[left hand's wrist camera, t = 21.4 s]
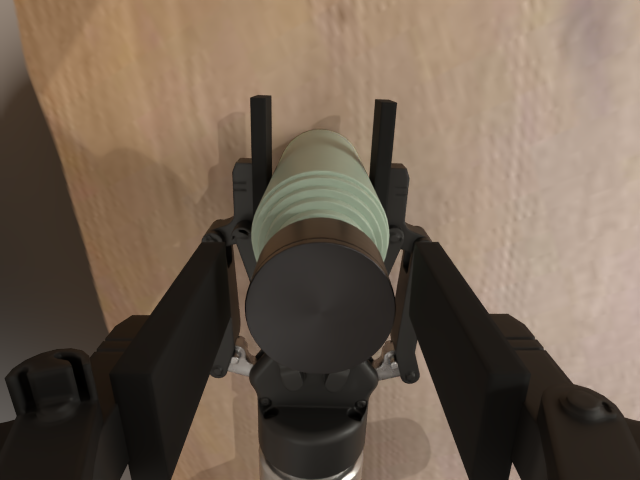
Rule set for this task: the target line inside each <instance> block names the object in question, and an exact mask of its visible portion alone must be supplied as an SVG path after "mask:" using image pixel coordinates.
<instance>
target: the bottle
mask: <svg viewBox="0 0 640 480" xmlns="http://www.w3.org/2000/svg"><path fill="white" fill-rule="evenodd" d="M318 217H324V218H333V219H337V220H341V221H344V222H347V223H349V224H351V225H353V226H355V227H357V228H358V229H360V230H361V231H363V232H364V233H365V234H366V235H367V236H368V237H369V238H370V239H371V240H372V241H373V242H374V244H375V245H376V247H377V248H378V250H379V252H380V254H381V256H382V259H383V262H384V260H385V257H386V253H387V249H388V244H389V226H388V221H387V217H386V214H385V211H384V209H383V207H382V205H381V203H380V200H379V198H378V196H377V194H376V192H375V190H374V188H373V186H372V184H371V181H370V179H369V177H368V175H367V173H366V171H365V169H364V167H363V164H362V162H361V160H360V158H359V156H358V154H357V152H356V150H355V148H354V147H353V145H352V144H351V143H350V142H349V141H348V140H347V139H346V138H345V137H343V136H342V135H340V134H338V133H336V132H333V131H330V130H324V129H317V130H311V131H307V132H304V133H302V134H300V135H299V136H297V137H296V138H294V139H293V140H292V141H291V142H290V143H289V145H288V146H287V147H286V149H285V151H284V152H283V154H282V157H281V159H280V161H279V163H278V165H277V167H276V169H275V172H274V174H273V176H272V178H271V180H270V182H269V184H268V187H267V189H266V191H265V193H264V195H263V197H262V199H261V202H260V204H259V206H258V208H257V210H256V213H255V215H254V219H253V223H252V231H251V238H252V246H253V251H254V255H255V258H256V261H258V258H259V255H260V253H261V251H262V249H263V248H264V246H265V245H266V243H267V242H268V241H269V239H270V238H271V237H272V236H273V235H274V234H276V233H277V232H278V231H279V230H281V229H282V228H284V227H286V226H287V225H289V224H292V223H294V222H296V221H300V220H303V219H308V218H318Z"/></svg>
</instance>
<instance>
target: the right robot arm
mask: <svg viewBox="0 0 640 480" xmlns="http://www.w3.org/2000/svg"><path fill="white" fill-rule="evenodd" d="M250 108H251V150H252V158H240V159H239V160H238V161H237V162H236V164H235V166H234V169H233V172H232V175H233V199H234V216H233V217H231V218H228V219H225V220H221V219H220V220H216V221H215V222H214V223H213V224H212V225H211V227H210V228H209V229H208V231H207V232H206V234H205V235H204V237H203V238H202V242H225V247H226V259H227V271H228V282H229V294H230V306H231V318H230V320H229V323H228V326H227V328H226V331H225V334H224V337H223V339H222V342H221V345H220V348H219V350H218V353H217V356H216V358H215V361H214V364H213V367H212V369H211V372H210V375H211V376H213V377H215V378H222V377H224V376H225V375H226V374H227V371H230V372H234V373H237V374H241V375H245V376H248V377H249V380H250V383H251V385H252V386H253V387H254V389H255V390H256V393H257V396H258V433H259V444H260V446H259V470H260V480H361V478H362V467H363V456H364V443H365V433H366V422H367V411H368V401H369V397H370V395H371V393H372V392H373V391H374V389H375V388H376V386H377V384H378V381H379V380H384V379H388V378H393V377H398V376H401V379H402V381H403V382H405V383H408V384H412V383H415V382H416V381H417V380H418V379H419V377H420V373H419V369H418V365H417V360H416V356H415V349H416V344H417V337H416V334H415V331H414V328H413V326H412V323H411V320H410V318H409V306H410V294H411V282H412V270H413V259H414V247H415V242H432V241H431V239H430V238H429V236H428V235H427V233H426V232H425V230H424V229H423V228H422V227H420V226H412V225H410V224H407V223H406V222H405V213H406V204H407V195H408V186H409V175H408V172H407V169H406V167H405V166H404V165H403V164H398V163H391V161H392V151H393V140H394V129H395V119H396V108H397V103H396V102H393V101H391V100H381V99H375V109H374V122H373V135H372V148H371V162H370V175H369V179H370V181H371V184H372V186H373V188H374V190H375V192H376V194H377V196H378V198H379V200H380V203H381V205H382V207H383V209H384V211H385V214H386V217H387V221H388V226H389V244H388V249H387V253H386V257H385V260H384V265H385V267H386V270H387V273H388V276H389V274H390V271H391V269H392V267H393V265H394V262H395V260H396V258H397V255H398V253H399V251H400V249H402V250H403V255H402V261H401V267H400V273H399V278H398V284H397V290H396V296H395V302H396V314H395V320H394V324H393V327H392V330H391V332H390V336H391V341H386V342H385V345H384V346H383V348H382V354H381V356H380V357H379V358H378V359H376V360H373V358H372V357H370V358H369V359H368V360H366V361H364V362H363V363H361V364H359V365H357V366H355V367H353V368H350V369H348V370H345V371H341V372H337V373H330V374H311V373H304V372H299V371H296V370H293V369H290V368H288V367H286V366H283V365H281V364H280V363H278V362H276V361H275V360H273V359H272V358H271V357H269V356H268V355H267V354H266V353H265V352H264V351H263V350H262V349H261V350H260V351H259V353H258V354H257V355H256V356H252V355H251V354H250V353H249V352H248V345H247V342H246V341H245V338H244V337H242V336H239V332H240V312H239V302H238V292H237V282H236V272H235V262H234V252H233V244H237V247H238V249H239V252H240V255H241V258H242V261H243V263H244V266H245V269H246V272H247V274H248V277H249V280H250V282H251V279H252V276H253V273H254V270H255V267H256V264H257V261H256V258H255V255H254V251H253V246H252V238H251V231H252V223H253V219H254V215H255V213H256V210H257V208H258V206H259V204H260V202H261V199H262V197H263V195H264V193H265V191H266V189H267V187H268V184H269V182H270V180H271V178H272V118H271V96H268V95H257V96H254V97H251V98H250Z"/></svg>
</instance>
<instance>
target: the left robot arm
mask: <svg viewBox="0 0 640 480" xmlns="http://www.w3.org/2000/svg"><path fill="white" fill-rule="evenodd" d="M230 318H231V306H230V294H229V282H228V271H227V259H226V247H225V242H201V244H200V245H199V247H198V248H197V249H196V251H195V252H194V254H193V255H192V257H191V258H190V259H189V261H188V262H187V264H186V265H185V266H184V268H183V269H182V271H181V272H180V274H179V275H178V276H177V278H176V279H175V281H174V282H173V283H172V285H171V286H170V288H169V289H168V291H167V292H166V293H165V295H164V296H163V298H162V299H161V300H160V302H159V303H158V305H157V306H156V308H155V309H154V310H153V312H152V313H151V315H132V316H130V317H129V318H127V319H126V320H124V321H123V322H121V323H120V324H118V325H116V326H115V327H114V329H113V330H112V331H111V332H110V334H109V335H108V336H107V337H106V339H105V341H103V342H102V343H101V345H100V346H99V347H98V348H97V352H94V353H93V355H92V356H91V357H90V358H89V355H87V354H86V353H85V352H84V351H82V350H77V349H72V348H69V349H56V350H52V351H48V352H45V353H41V354H38V355H36V356H34V357H32V358H29V359H27V360H25V361H23V362H22V363H21V364H19V365H18V366H16V367H15V368H13V369H12V370H11V371H10V373H9V374H8V375H7V376H6V377H5V381H6V384H7V387H8V390H9V393H10V396H11V399H12V403H13V406H14V409H15V412H16V415H17V417H16V419H15V420H12V421H9V422H4V423H0V480H120V478H121V476H122V474H123V472H124V470H125V468H126V466H127V464H128V465H129V470H130V475H131V479H132V480H171V478H172V475H173V473H174V470H175V467H176V464H177V462H178V459H179V456H180V454H181V451H182V448H183V445H184V443H185V440H186V437H187V435H188V432H189V429H190V426H191V424H192V421H193V418H194V415H195V413H196V410H197V407H198V405H199V402H200V399H201V396H202V394H203V391H204V388H205V386H206V383H207V380H208V377H209V375H210V372H211V369H212V367H213V364H214V361H215V358H216V356H217V353H218V350H219V348H220V345H221V342H222V339H223V337H224V334H225V331H226V328H227V326H228V323H229V320H230ZM409 318H410V320H411V323H412V326H413V328H414V331H415V334H416V337H417V339H418V342H419V345H420V348H421V350H422V353H423V356H424V358H425V361H426V364H427V367H428V369H429V372H430V375H431V377H432V380H433V383H434V386H435V388H436V391H437V394H438V396H439V399H440V402H441V405H442V407H443V410H444V413H445V416H446V418H447V421H448V424H449V426H450V429H451V432H452V435H453V437H454V440H455V443H456V445H457V448H458V451H459V454H460V456H461V459H462V462H463V464H464V467H465V470H466V473H467V475H468V478H469V480H508V479H509V475H510V470H511V465H512V462H513V464H514V466H515V468H516V470H517V472H518V474H519V476H520V478H521V480H640V421H636V420H631V419H628V418H624V416H623V414H622V413H621V412H620V410H619V409H618V407H617V406H616V405H615V404H614V403H612V402H611V401H610V400H608V399H607V398H606V397H605V396H603V395H601V394H599V393H597V392H595V391H593V390H591V389H589V388H585V387H582V386H578V385H575V384H573V383H572V382H571V381H570V379H569V378H568V377H567V376H566V375H565V373H564V372H563V371H562V370H561V368H560V367H559V366H558V365H557V364H556V362H555V361H554V360H553V359H552V357H551V356H550V355H549V354H548V353H547V351H546V350H544V349H543V346H542V345H541V344H540V343H539V342H538V340H535V337H534V335H533V334H532V333H531V332H530V331H529V329H528V328H527V327H526V326H525V325H524V324H523V323H521V322H520V321H518V320H517V319H515V318H514V317H512V316H510V315H509V314H489V313H488V312H487V310H486V309H485V308H484V306H483V305H482V303H481V302H480V300H479V299H478V298H477V296H476V295H475V293H474V292H473V291H472V289H471V288H470V286H469V285H468V283H467V282H466V281H465V279H464V278H463V276H462V275H461V274H460V272H459V271H458V269H457V268H456V266H455V265H454V264H453V262H452V261H451V259H450V258H449V257H448V255H447V254H446V252H445V251H444V249H443V248H442V247H441V245H440V244H439V242H415V247H414V259H413V270H412V282H411V294H410V306H409Z"/></svg>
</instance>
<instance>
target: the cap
mask: <svg viewBox="0 0 640 480" xmlns="http://www.w3.org/2000/svg"><path fill="white" fill-rule="evenodd" d="M395 314H396V302H395V296H394V292H393V288H392V285H391V282H390V279H389V276H388V273H387V270H386V267H385V265H384V262H383V259H382V256H381V254H380V252H379V250H378V248H377V247H376V245H375V244H374V242H373V241H372V240H371V239H370V238H369V237H368V236H367V235H366V234H365V233H364V232H363V231H361V230H360V229H358V228H357V227H355V226H353V225H351V224H349V223H347V222H344V221H341V220H337V219H333V218H324V217H318V218H308V219H303V220H300V221H296V222H294V223H292V224H289V225H287V226H286V227H284V228H282V229H281V230H279V231H278V232H277V233H276V234H274V235H273V236H272V237H271V238H270V239H269V241H268V242H267V243H266V245H265V246H264V248H263V249H262V251H261V253H260V255H259V258H258V261H257V264H256V267H255V270H254V273H253V276H252V279H251V282H250V285H249V288H248V291H247V295H246V300H245V315H246V321H247V325H248V328H249V330H250V333H251V335H252V336H253V338H254V340H255V342H256V343H257V344H258V346H259V347H260V348H261V349H262V350H263V351H264V352H265V353H266V354H267V355H268V356H269V357H271V358H272V359H273V360H275V361H276V362H278V363H280V364H281V365H283V366H286V367H288V368H290V369H293V370H296V371H299V372H304V373H311V374H330V373H337V372H341V371H345V370H348V369H350V368H353V367H355V366H357V365H359V364H361V363H363V362H364V361H366V360H368V359H369V358H370V357H371V356H373V355H374V354H375V353H376V352H377V351H378V350H379V349H380V348H381V347H382V345H383V344H384V343H385V341H386V340H387V338H388V336H389V334H390V332H391V330H392V327H393V324H394V320H395Z"/></svg>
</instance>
